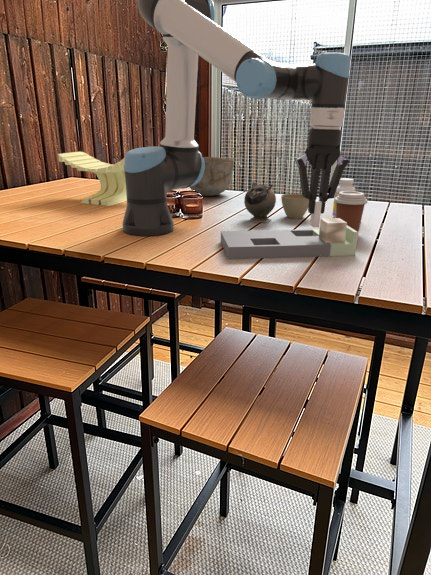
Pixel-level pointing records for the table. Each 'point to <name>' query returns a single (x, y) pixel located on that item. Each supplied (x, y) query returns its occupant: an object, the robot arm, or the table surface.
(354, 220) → the coffee cup
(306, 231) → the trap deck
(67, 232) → the table surface
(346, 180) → the supplement bottle
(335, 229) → the cream block
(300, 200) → the flower pot
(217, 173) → the bowl
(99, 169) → the slatted curved stool
